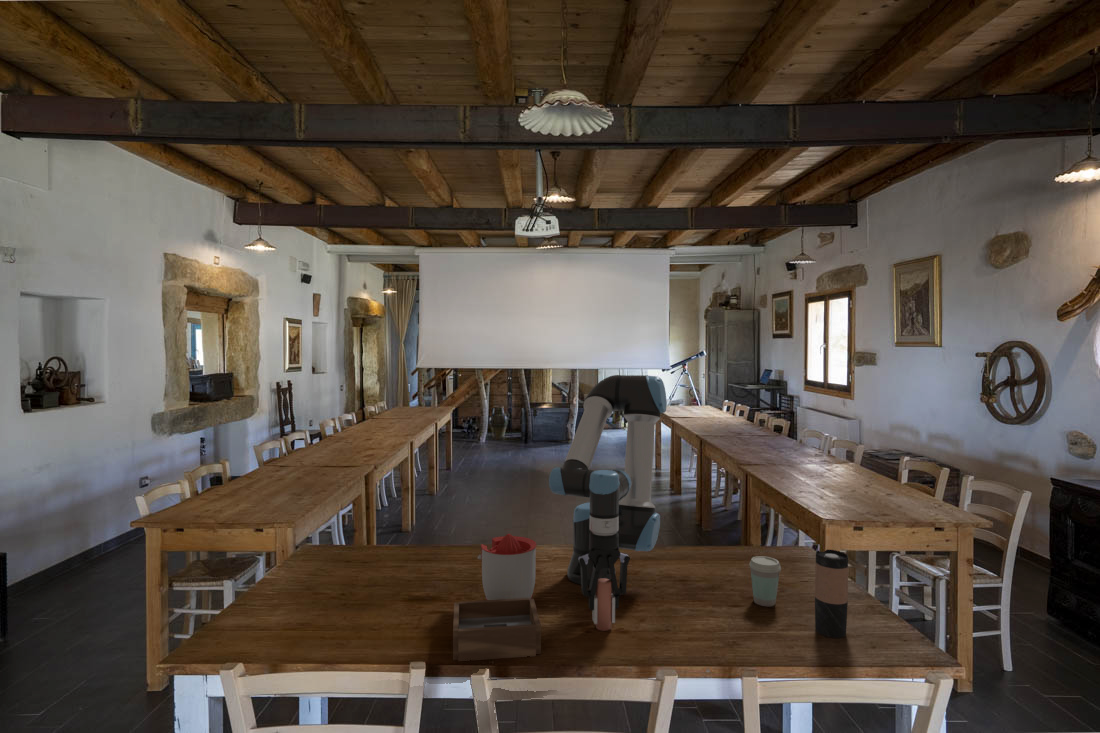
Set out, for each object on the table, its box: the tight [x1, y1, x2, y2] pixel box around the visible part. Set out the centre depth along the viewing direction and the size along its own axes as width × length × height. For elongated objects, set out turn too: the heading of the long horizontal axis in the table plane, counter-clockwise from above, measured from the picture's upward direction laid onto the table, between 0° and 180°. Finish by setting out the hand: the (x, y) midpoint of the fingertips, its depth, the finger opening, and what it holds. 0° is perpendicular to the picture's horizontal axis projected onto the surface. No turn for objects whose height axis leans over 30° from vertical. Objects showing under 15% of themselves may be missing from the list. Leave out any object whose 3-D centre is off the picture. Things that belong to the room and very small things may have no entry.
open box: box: [452, 598, 542, 662], centre depth 148 cm, size 16×20×7 cm
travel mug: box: [814, 549, 849, 639], centre depth 153 cm, size 8×8×20 cm
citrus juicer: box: [477, 533, 537, 600], centre depth 170 cm, size 16×17×20 cm
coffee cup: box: [748, 555, 782, 607], centre depth 171 cm, size 8×8×12 cm
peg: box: [595, 578, 613, 632], centre depth 155 cm, size 4×4×12 cm
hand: (603, 620), depth 156 cm, fingers closed on peg, 4 cm apart
